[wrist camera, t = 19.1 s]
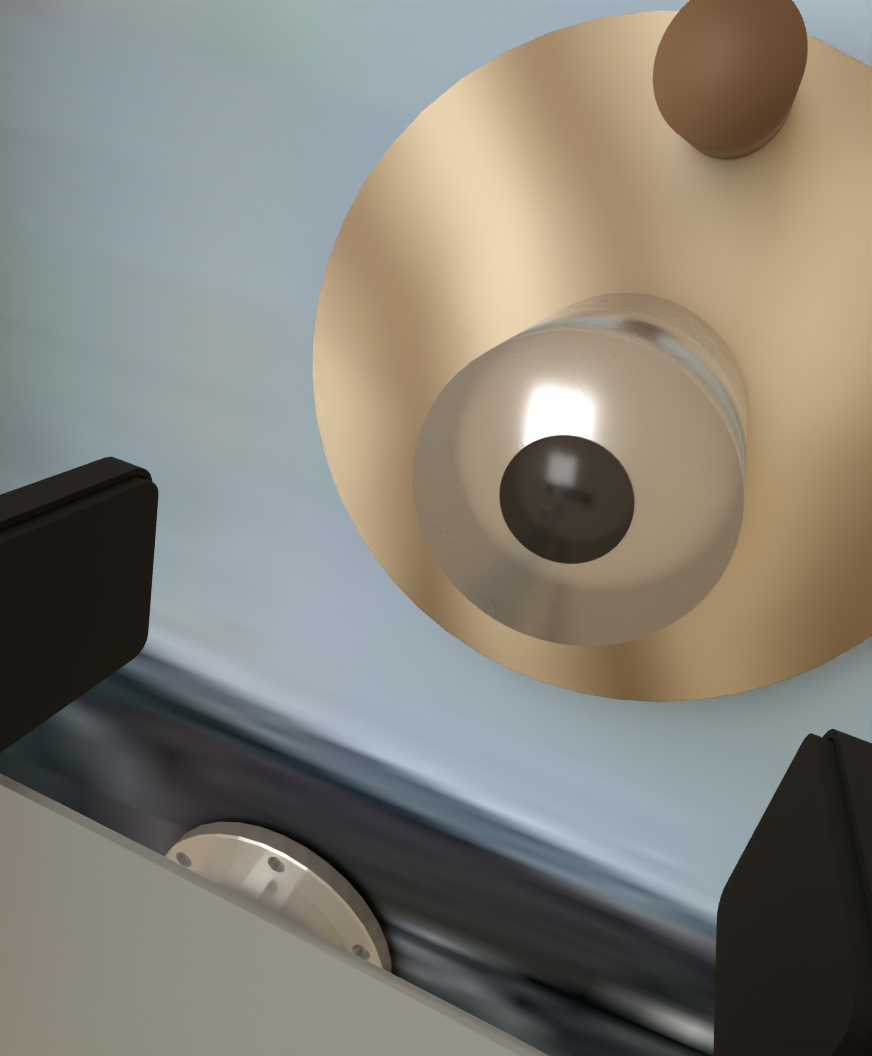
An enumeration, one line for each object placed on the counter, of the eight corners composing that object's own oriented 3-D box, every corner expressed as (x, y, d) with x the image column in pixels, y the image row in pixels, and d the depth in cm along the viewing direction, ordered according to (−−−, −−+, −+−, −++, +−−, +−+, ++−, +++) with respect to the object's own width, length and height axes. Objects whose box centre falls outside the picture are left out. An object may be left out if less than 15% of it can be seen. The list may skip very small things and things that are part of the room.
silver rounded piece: (793, 338, 18) (809, 401, 13) (689, 564, 21) (664, 697, 16) (540, 260, 20) (453, 285, 14) (475, 482, 23) (382, 576, 17)
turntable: (409, 678, 28) (325, 795, 23) (265, 148, 23) (109, 132, 17) (1008, 674, 21) (1098, 845, 15) (1004, -114, 15) (1141, -288, 10)
